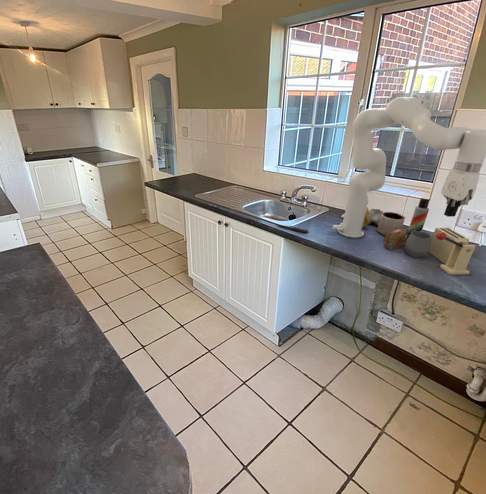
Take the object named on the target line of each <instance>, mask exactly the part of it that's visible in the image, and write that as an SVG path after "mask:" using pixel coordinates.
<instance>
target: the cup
mask: <svg viewBox="0 0 486 494" xmlns="http://www.w3.org/2000/svg"><path fill="white" fill-rule="evenodd" d="M431 240H432V235H431V234H430V233H427V232H424V231H422V232H420V231H413V232H412V233H411V234H410V236H408V238H407V241H406V242H405V243H404V248H405V251H406V253H407V254H408V255H409V256H411V257H415V258H422V257H424V256H425V255H426V254H428V253H429V252H428V251H429V250H430V243H431Z"/></svg>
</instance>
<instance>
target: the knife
mask: <svg viewBox="0 0 486 494" xmlns="http://www.w3.org/2000/svg"><path fill="white" fill-rule="evenodd" d="M276 227H281V228H285V229H289V230H291V231H294V232H297V233H303V234H307V233H308V229H302V228H298V227H291V226H286V225H276Z"/></svg>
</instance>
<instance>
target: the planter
mask: <svg viewBox="0 0 486 494" xmlns="http://www.w3.org/2000/svg"><path fill="white" fill-rule="evenodd" d="M405 220H406V216H405V215H404V214H401V213H398V212H393V211H383V213H382V215H381V218H380V222H379V225H377V232H378V233H379V234H381V235H384V236H386V235H387V234H388V233H389V232H391V231H395V230H398V229H403V227H404V224H405Z"/></svg>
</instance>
